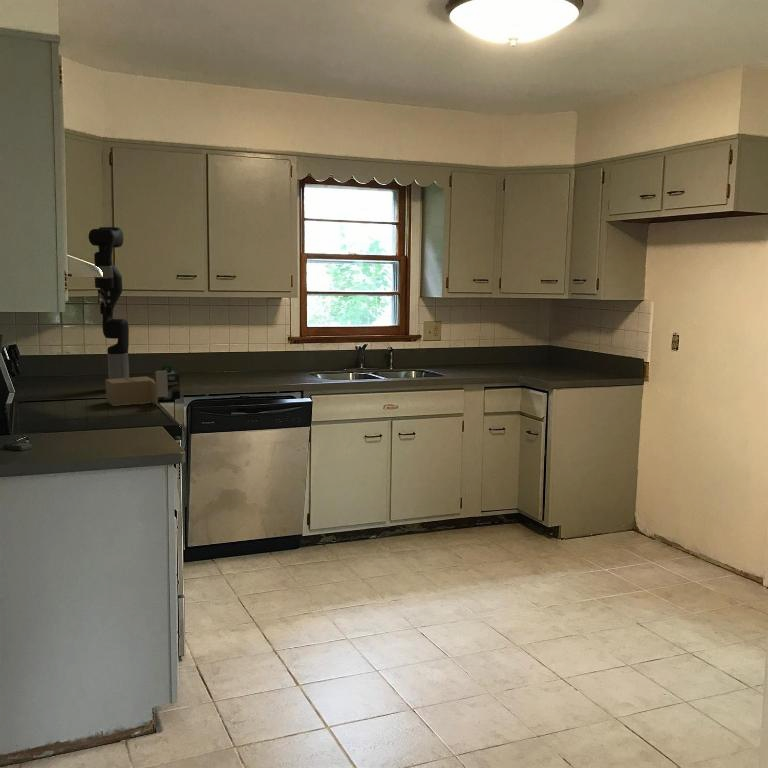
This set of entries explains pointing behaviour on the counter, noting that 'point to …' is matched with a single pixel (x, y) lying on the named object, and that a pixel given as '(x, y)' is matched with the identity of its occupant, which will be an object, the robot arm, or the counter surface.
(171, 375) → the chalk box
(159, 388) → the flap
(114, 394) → the carton
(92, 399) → the counter surface
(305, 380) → the counter surface
